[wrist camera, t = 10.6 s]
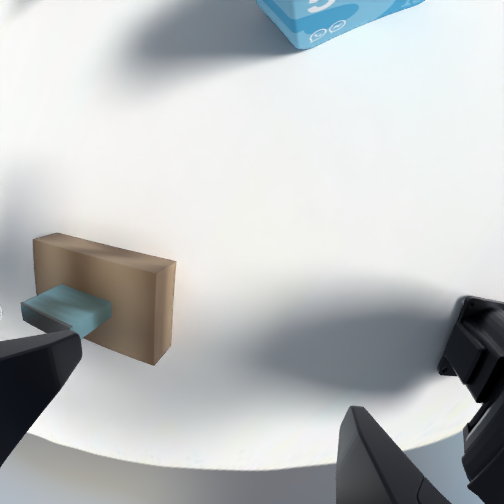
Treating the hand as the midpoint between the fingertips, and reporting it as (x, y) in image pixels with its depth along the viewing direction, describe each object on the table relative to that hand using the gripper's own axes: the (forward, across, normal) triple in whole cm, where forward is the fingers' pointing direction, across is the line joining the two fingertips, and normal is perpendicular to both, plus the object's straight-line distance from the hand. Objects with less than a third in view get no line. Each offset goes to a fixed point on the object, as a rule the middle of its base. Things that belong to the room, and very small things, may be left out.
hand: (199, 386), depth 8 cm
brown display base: (+12, +12, +4) cm, 17 cm away
